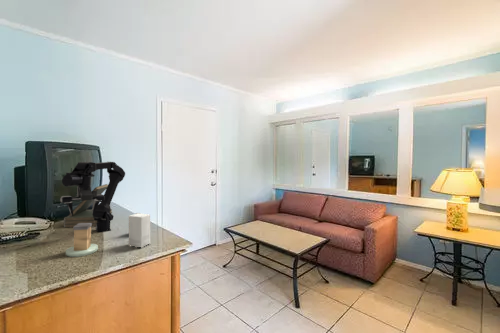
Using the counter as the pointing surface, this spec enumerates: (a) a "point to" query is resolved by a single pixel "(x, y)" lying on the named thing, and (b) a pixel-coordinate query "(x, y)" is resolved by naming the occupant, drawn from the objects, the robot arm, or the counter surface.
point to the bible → (83, 211)
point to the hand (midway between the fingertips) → (82, 214)
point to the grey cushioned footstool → (82, 236)
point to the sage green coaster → (81, 251)
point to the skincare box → (139, 230)
